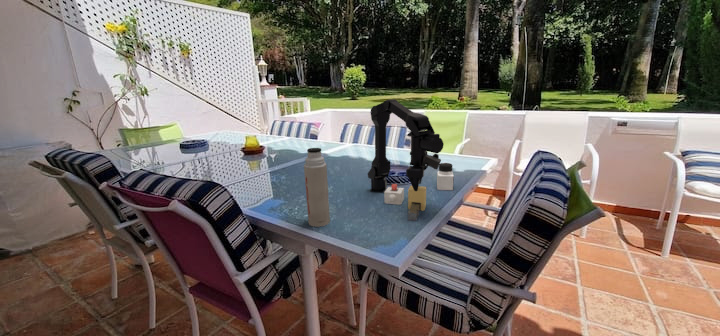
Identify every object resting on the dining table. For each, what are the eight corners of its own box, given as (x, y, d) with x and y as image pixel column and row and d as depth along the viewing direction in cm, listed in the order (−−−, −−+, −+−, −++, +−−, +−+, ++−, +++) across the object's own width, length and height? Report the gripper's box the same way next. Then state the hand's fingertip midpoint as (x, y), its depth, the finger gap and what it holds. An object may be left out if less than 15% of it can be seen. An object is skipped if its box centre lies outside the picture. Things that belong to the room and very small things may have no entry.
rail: (408, 220, 116) (408, 212, 116) (414, 204, 131) (414, 197, 130) (416, 220, 115) (416, 213, 115) (422, 204, 130) (422, 198, 129)
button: (391, 190, 133) (390, 185, 132) (392, 188, 135) (392, 183, 135) (396, 190, 132) (396, 186, 132) (397, 188, 134) (397, 184, 134)
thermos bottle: (307, 227, 113) (301, 151, 106) (309, 218, 121) (303, 147, 113) (329, 226, 114) (325, 150, 106) (330, 217, 121) (325, 145, 114)
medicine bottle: (453, 190, 145) (454, 165, 142) (437, 190, 147) (438, 165, 144) (451, 185, 152) (453, 161, 149) (436, 185, 154) (437, 161, 150)
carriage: (408, 209, 126) (408, 189, 123) (410, 204, 130) (410, 185, 128) (424, 210, 124) (424, 190, 121) (425, 206, 128) (426, 186, 126)
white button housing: (384, 203, 133) (384, 192, 131) (388, 197, 139) (388, 186, 138) (400, 205, 130) (400, 193, 129) (404, 198, 137) (404, 188, 136)
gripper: (437, 155, 109) (436, 197, 113) (441, 144, 126) (440, 181, 130) (405, 153, 113) (405, 194, 117) (414, 144, 130) (413, 179, 134)
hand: (417, 187), depth 124 cm, fingers open, 9 cm apart
